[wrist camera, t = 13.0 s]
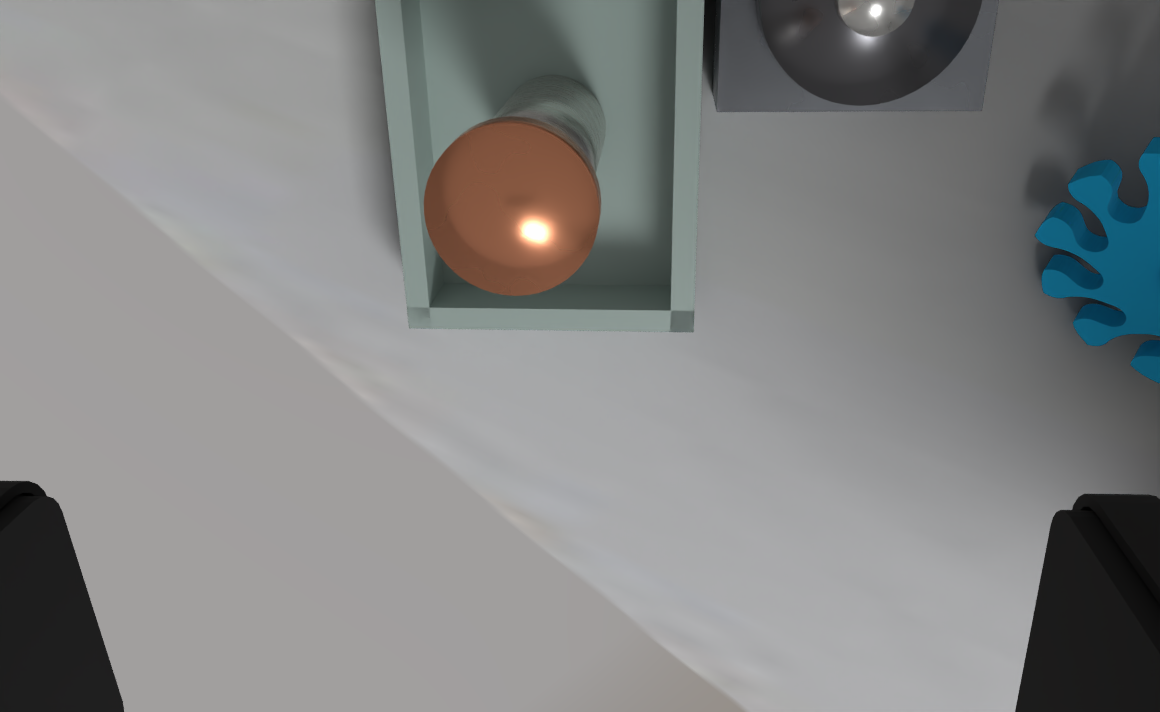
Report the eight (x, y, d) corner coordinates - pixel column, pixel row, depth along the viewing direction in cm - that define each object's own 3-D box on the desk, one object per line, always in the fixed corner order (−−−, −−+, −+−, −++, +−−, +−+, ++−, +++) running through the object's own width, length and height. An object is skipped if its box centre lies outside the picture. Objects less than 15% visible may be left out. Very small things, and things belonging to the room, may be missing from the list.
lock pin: (617, 191, 34) (600, 296, 25) (494, 191, 34) (431, 295, 25) (617, 61, 32) (597, 124, 23) (486, 63, 32) (415, 124, 23)
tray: (691, 300, 36) (693, 332, 33) (428, 297, 37) (408, 328, 34) (703, -83, 30) (706, -82, 28) (392, -77, 31) (366, -75, 28)
